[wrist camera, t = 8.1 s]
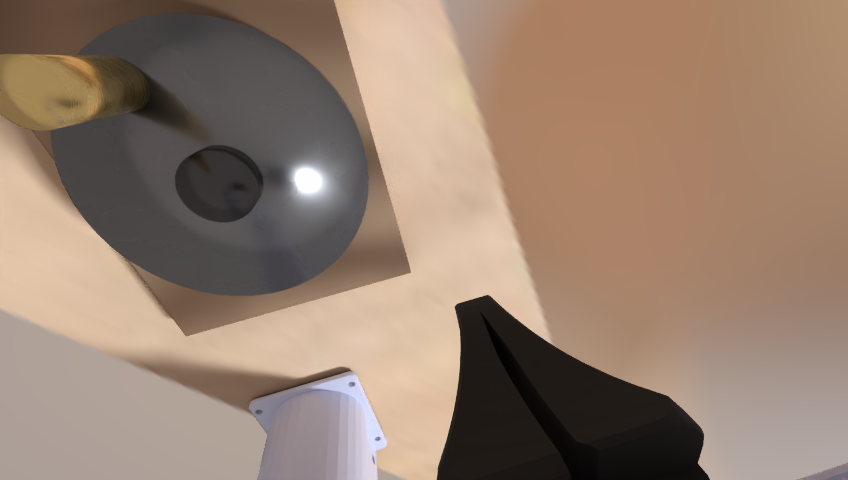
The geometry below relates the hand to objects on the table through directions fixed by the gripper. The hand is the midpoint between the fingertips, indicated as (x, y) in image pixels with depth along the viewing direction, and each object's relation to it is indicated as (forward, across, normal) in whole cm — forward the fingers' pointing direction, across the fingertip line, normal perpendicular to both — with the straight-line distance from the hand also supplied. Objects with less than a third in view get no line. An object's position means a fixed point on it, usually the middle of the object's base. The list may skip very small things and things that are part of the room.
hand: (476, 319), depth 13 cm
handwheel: (+8, +9, -6) cm, 13 cm away
